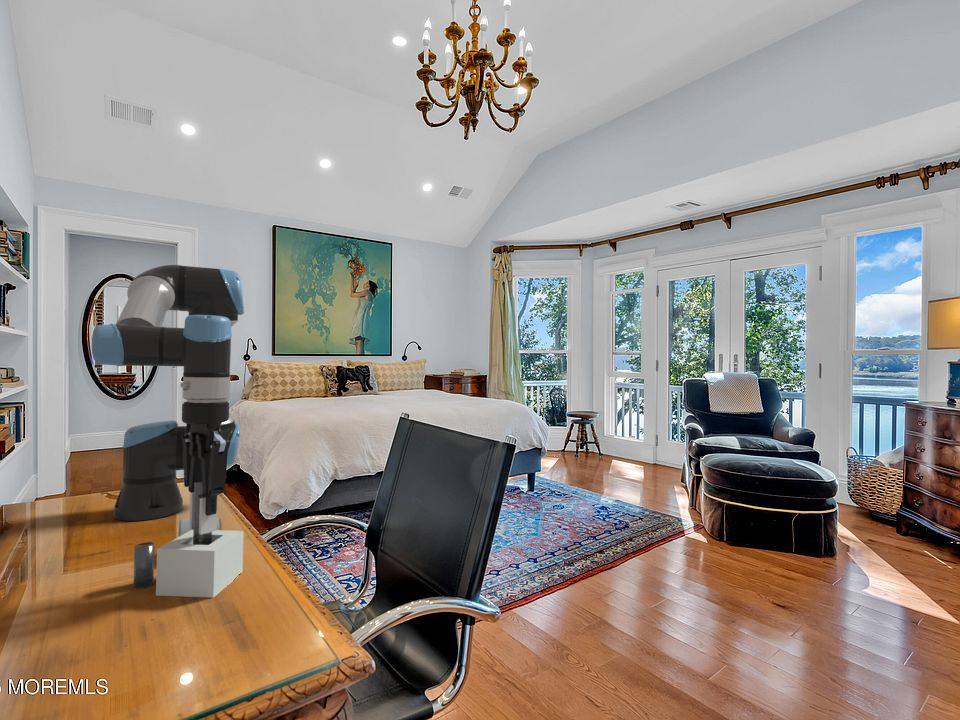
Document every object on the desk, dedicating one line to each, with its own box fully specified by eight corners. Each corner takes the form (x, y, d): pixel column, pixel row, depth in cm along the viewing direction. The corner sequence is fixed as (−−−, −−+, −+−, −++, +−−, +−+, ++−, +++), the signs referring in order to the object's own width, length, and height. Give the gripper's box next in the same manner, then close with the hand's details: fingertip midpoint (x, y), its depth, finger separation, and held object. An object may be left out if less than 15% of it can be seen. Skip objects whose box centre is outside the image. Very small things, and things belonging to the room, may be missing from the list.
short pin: (141, 580, 91) (142, 542, 91) (157, 580, 91) (158, 542, 91) (129, 587, 88) (130, 548, 88) (145, 588, 88) (147, 548, 88)
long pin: (198, 554, 92) (200, 479, 92) (214, 555, 92) (216, 479, 92) (188, 561, 89) (190, 483, 89) (205, 562, 89) (207, 483, 89)
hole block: (191, 571, 95) (192, 529, 95) (242, 572, 95) (243, 531, 95) (155, 595, 85) (157, 549, 85) (213, 597, 85) (214, 550, 85)
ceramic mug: (223, 556, 103) (224, 519, 103) (176, 564, 98) (177, 525, 98) (219, 541, 112) (220, 506, 112) (176, 547, 107) (177, 511, 107)
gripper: (164, 398, 92) (161, 525, 92) (205, 404, 83) (202, 546, 82) (206, 396, 98) (203, 516, 98) (249, 402, 89) (246, 534, 89)
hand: (202, 529), depth 90 cm, fingers closed on long pin, 3 cm apart
